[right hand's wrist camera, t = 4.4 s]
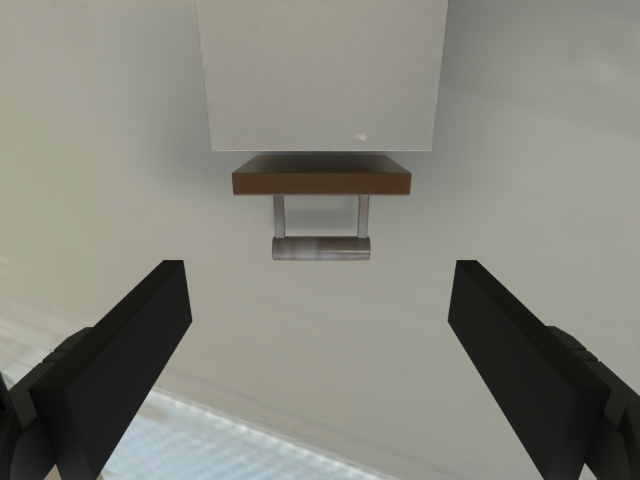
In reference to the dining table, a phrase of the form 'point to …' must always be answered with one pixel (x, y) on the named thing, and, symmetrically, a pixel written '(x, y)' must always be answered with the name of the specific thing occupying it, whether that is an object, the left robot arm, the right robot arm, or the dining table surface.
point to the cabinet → (321, 73)
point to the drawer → (321, 179)
